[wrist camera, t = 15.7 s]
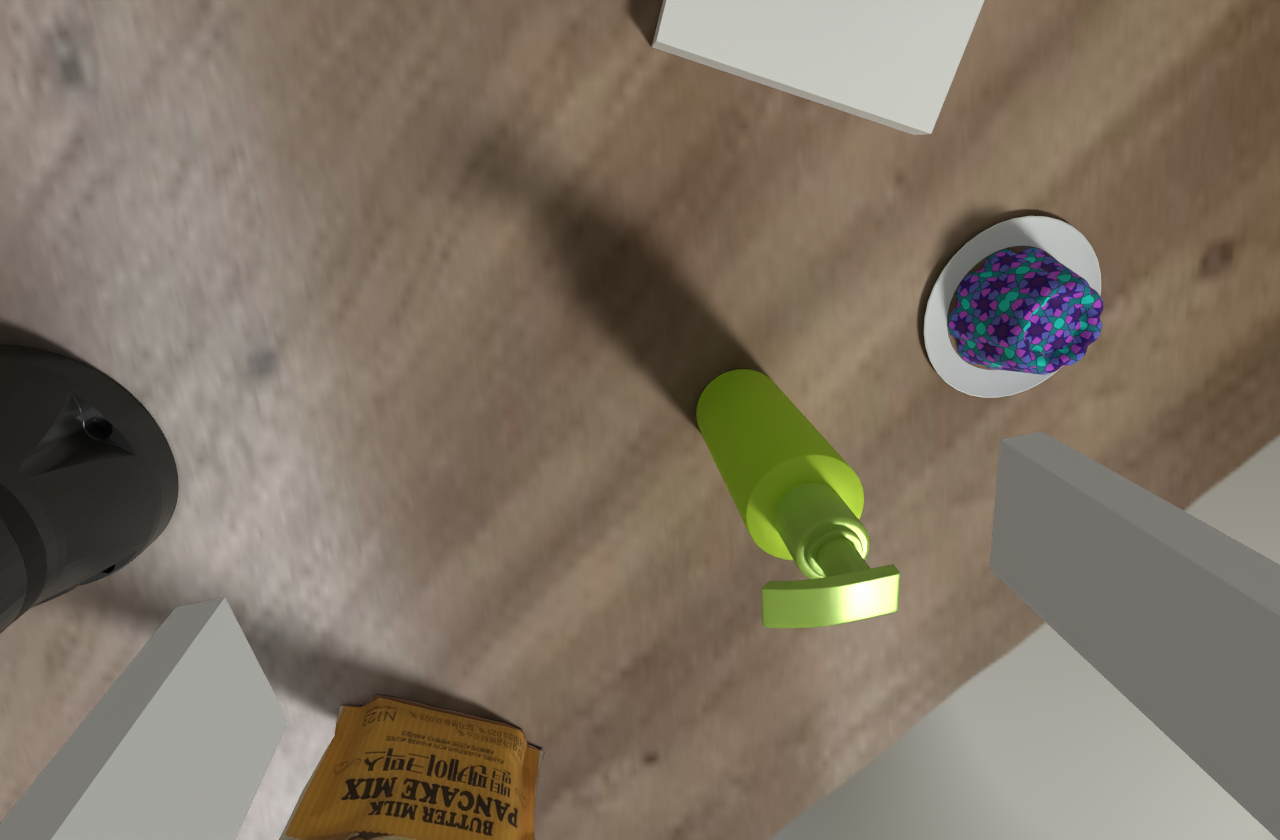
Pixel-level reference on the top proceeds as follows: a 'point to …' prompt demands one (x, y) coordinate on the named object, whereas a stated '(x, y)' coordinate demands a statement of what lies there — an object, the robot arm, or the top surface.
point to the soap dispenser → (794, 504)
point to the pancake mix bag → (419, 778)
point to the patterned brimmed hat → (1015, 307)
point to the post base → (832, 50)
